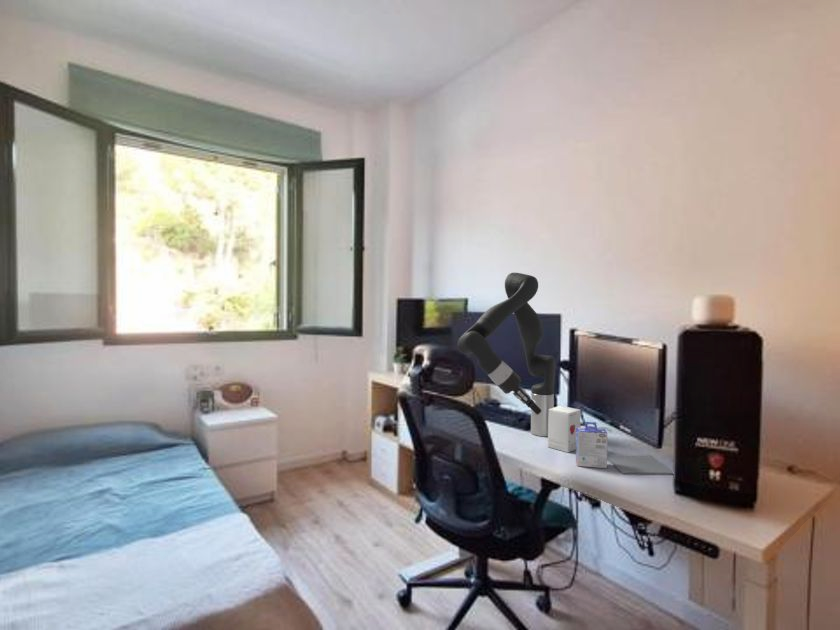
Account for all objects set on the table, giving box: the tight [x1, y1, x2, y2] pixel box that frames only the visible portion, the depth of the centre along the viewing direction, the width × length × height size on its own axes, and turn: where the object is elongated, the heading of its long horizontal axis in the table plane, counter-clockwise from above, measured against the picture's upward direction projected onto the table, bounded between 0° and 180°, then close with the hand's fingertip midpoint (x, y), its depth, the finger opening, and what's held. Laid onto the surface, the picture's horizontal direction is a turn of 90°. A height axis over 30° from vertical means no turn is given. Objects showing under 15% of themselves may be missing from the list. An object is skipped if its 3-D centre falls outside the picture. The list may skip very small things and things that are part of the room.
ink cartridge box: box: [575, 421, 608, 469], centre depth 157 cm, size 10×6×14 cm, turn 78°
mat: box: [607, 454, 674, 475], centre depth 157 cm, size 16×17×1 cm
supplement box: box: [547, 405, 582, 453], centre depth 175 cm, size 9×9×15 cm
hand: (539, 412), depth 157 cm, fingers closed
